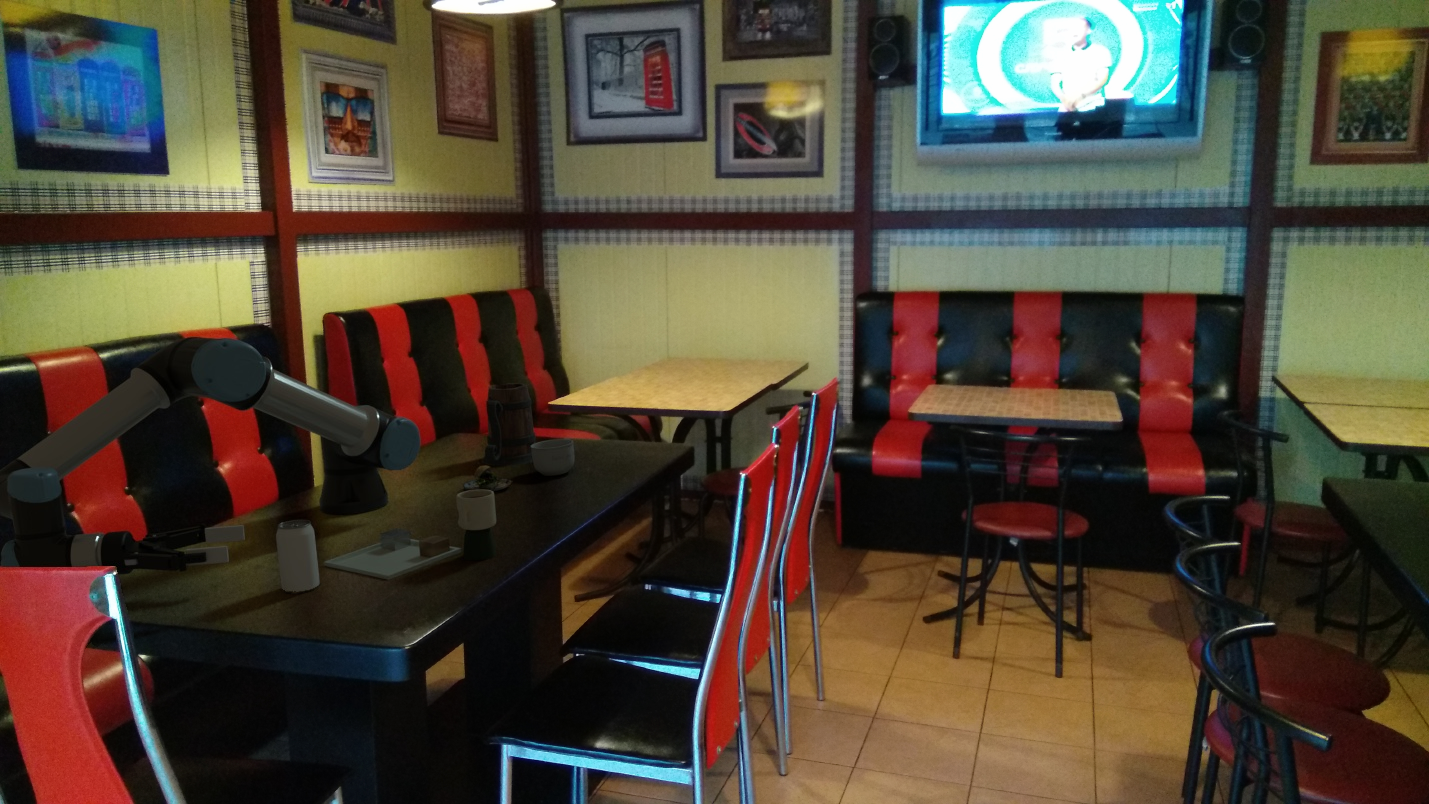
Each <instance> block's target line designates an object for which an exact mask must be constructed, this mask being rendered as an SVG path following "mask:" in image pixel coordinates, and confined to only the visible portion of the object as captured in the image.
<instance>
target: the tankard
mask: <svg viewBox="0 0 1429 804" xmlns="http://www.w3.org/2000/svg"><path fill="white" fill-rule="evenodd" d="M487 390H488V391H487V400H486V401H485V402H486V406H485V407H486V414H487V437H486V438H487V439H486V440H487V444H488V445H487V444H486V446H485V448H484V455H483V456H484V457H483V458H482V459H481V463H482V464H484V463H485V465H488V464H489V465H488V466H499V467H500V466H502V467H503V466H504V467H505V466H506V467H507V466H518V465H519V466H520V465H525V464H530V463H533V458H532V450H531V445H533V444H535V443H536V440H537V439H536V438H537V437H536V436H537V435H536V433H535V430H534V422H533V420H534V419H533V411H532V398H531V397H530V394H529V393H530V392H529V389H528V385H527V384H525V383H518V382H517V383H504V384H492V385H489V386H488V389H487Z"/></svg>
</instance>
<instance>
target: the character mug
mask: <svg viewBox="0 0 1429 804" xmlns="http://www.w3.org/2000/svg"><path fill="white" fill-rule="evenodd" d="M494 492H495V491H491V490H470V491H465V492H463V491H461V492H459V493H457V494H456V495H455V498H456V501H455V502H456V509H457V511H458V520H457V524H458V526H459V527H460V528H461V529H463V530H464V531H465V532H464V534H463V535H464V537H463V540H464V541H463V559H464V560H466V561H484V560H485V561H486V560H490V559H492V558H494V557H496V556H497V549H496V545H495V540H494V535H493V531H492V529H491V527H494V526H495V525H496V524H497V515H496V514H497V512H496V502H495V501H496V499H495V493H494Z"/></svg>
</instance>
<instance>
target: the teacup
mask: <svg viewBox="0 0 1429 804" xmlns="http://www.w3.org/2000/svg"><path fill="white" fill-rule="evenodd" d="M574 449H575V447H574V440H573V439H569V438H568V437H564V438H560V439H559V438H557V439H549V440H542V441H539V442H535V444H533V445H531V450H532V458H533V462H532V463H533V466H534V469H535V470H536V471H537V472H539V473H540V474H541V475H543V476H547V477H548V476H549V477H550V476H560V475H563V474H567V473H568V472H569V471H570V469H572V468H573V466H574V465H575V450H574Z"/></svg>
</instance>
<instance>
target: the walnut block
mask: <svg viewBox="0 0 1429 804" xmlns="http://www.w3.org/2000/svg"><path fill="white" fill-rule="evenodd" d="M450 546H451V545H450V538H449V537H445V536H439V535H432V536H429V537H426V538H423V539H420V540H419V549H420V556H423V557H428V558H432V557H435V556H438V555H440V554H443V553H446V552H448V551H450Z"/></svg>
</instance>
